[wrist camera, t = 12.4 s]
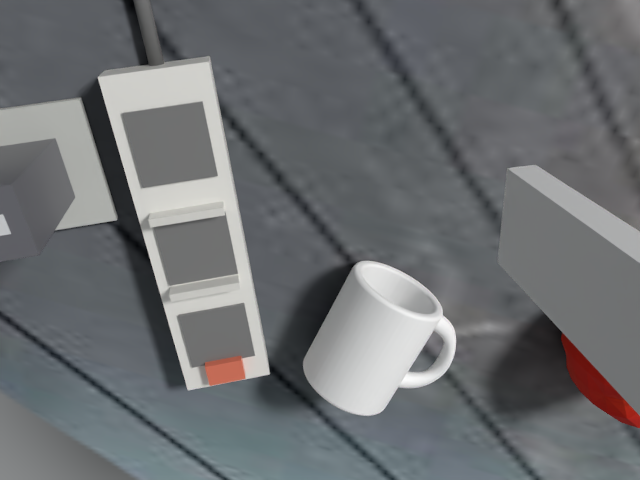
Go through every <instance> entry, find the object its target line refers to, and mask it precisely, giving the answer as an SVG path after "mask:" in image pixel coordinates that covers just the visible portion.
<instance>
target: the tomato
mask: <svg viewBox="0 0 640 480" xmlns="http://www.w3.org/2000/svg"><path fill="white" fill-rule="evenodd" d="M561 341H562V344H563V347H564V350H565V353H566V364H567V369H568V372H569V374H570V377H571V379H572V381H573V382H574V383H575V385H576V386H577V388H578V389H579V390H580V392H581V393H582V394H583V395H584V396H585V397H586V398H588V399H589V400H590V401H591V402H592V403H593V404H594V405H596V406H597V407H598V408H600V409H601V410H603V411H604V412H606V413H607V414H609V415H610V416H612V417H614V418H615V419H617V420H618V421H620V422H622V423H625V424H628V425H631V426H634V427H638V428H640V416H639V415H638V413H637V412H636V411H635V410H634V409H633V408H632V407H631V406H630V405H629V404H628V403H627V402H626V400H625V399H624V398H623V397H622V396H621V395H620V394H619V393H618V392H617V391H616V390H615V389H614V388H613V386H612V385H611V384H610V383H609V382H608V381H607V380H606V379H605V378H604V377H603V376H602V375H601V374H600V372H599V371H598V370H597V369H596V368H595V367H594V366H593V365H592V364H591V363H590V362H589V361H588V359H587V358H586V357H585V356H584V355H583V354H582V353H581V352H580V351H579V350H578V349H577V348H576V347H575V345H574V344H573V343H572V342H571V341H570V340H569V339H568V338H567V337H566V336H565V335H564V334H563V333H562V335H561Z"/></svg>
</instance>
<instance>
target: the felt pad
mask: <svg viewBox="0 0 640 480" xmlns="http://www.w3.org/2000/svg"><path fill="white" fill-rule="evenodd" d="M53 138H56V141H57V144H58V147H59V150H60V153H61V156H62V159H63V162H64V165H65V168H66V171H67V174H68V177H69V180H70V183H71V185H72V188H73V191H74V194H75V199H74V200H73V202H72V204H71V205H70V207H69V209H68V210H67V212H66V213H65V215H64V217H63V218H62V220H61V221H60V223H59V225H58V226H57V228H56V229H55V230H60V229H66V228H73V227H79V226H85V225H91V224H97V223H103V222H109V221H115V220H117V218H118V216H117V212H116V209H115V206H114V203H113V199H112V196H111V193H110V190H109V186H108V183H107V180H106V177H105V173H104V170H103V167H102V164H101V160H100V157H99V154H98V151H97V147H96V144H95V141H94V138H93V134H92V131H91V128H90V124H89V121H88V118H87V115H86V111H85V108H84V105H83V102H82V98H81V97H80V98H72V99H65V100H58V101H51V102H44V103H37V104H30V105H23V106H16V107H9V108H2V109H0V146H6V145H13V144H19V143H26V142H33V141H40V140H46V139H53Z"/></svg>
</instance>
